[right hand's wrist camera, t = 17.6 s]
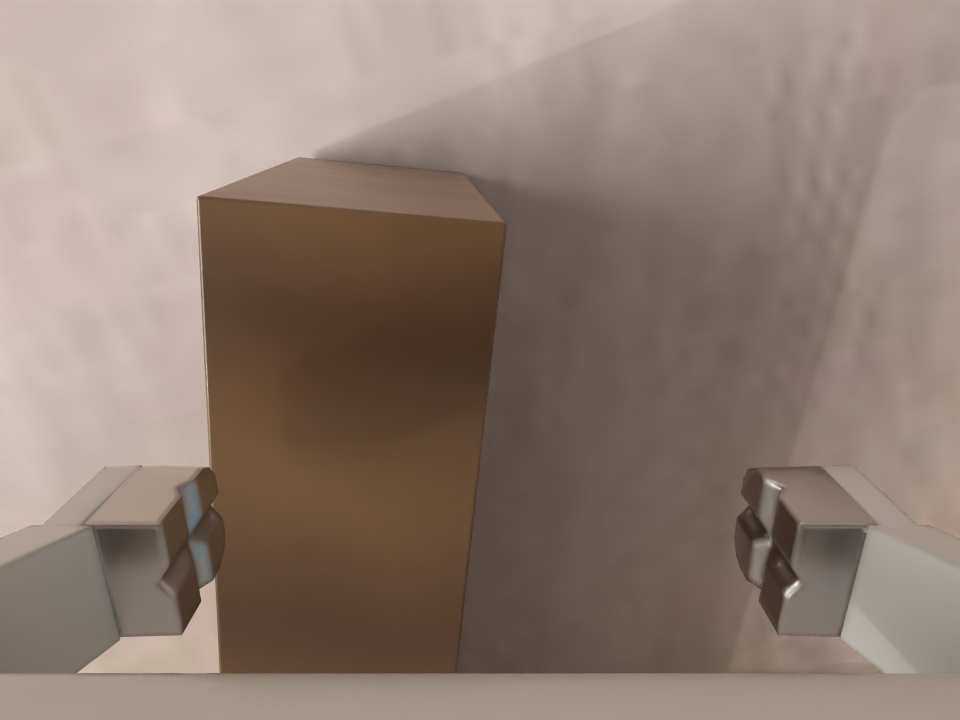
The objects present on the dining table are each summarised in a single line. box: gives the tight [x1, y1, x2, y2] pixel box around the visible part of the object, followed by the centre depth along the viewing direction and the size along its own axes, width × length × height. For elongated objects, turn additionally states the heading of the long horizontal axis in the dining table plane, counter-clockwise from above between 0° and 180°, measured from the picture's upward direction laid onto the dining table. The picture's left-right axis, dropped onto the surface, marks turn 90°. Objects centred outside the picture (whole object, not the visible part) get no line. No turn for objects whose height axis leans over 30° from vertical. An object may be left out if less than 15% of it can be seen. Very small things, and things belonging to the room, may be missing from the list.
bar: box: [197, 157, 507, 673], centre depth 19 cm, size 26×5×9 cm, turn 174°
